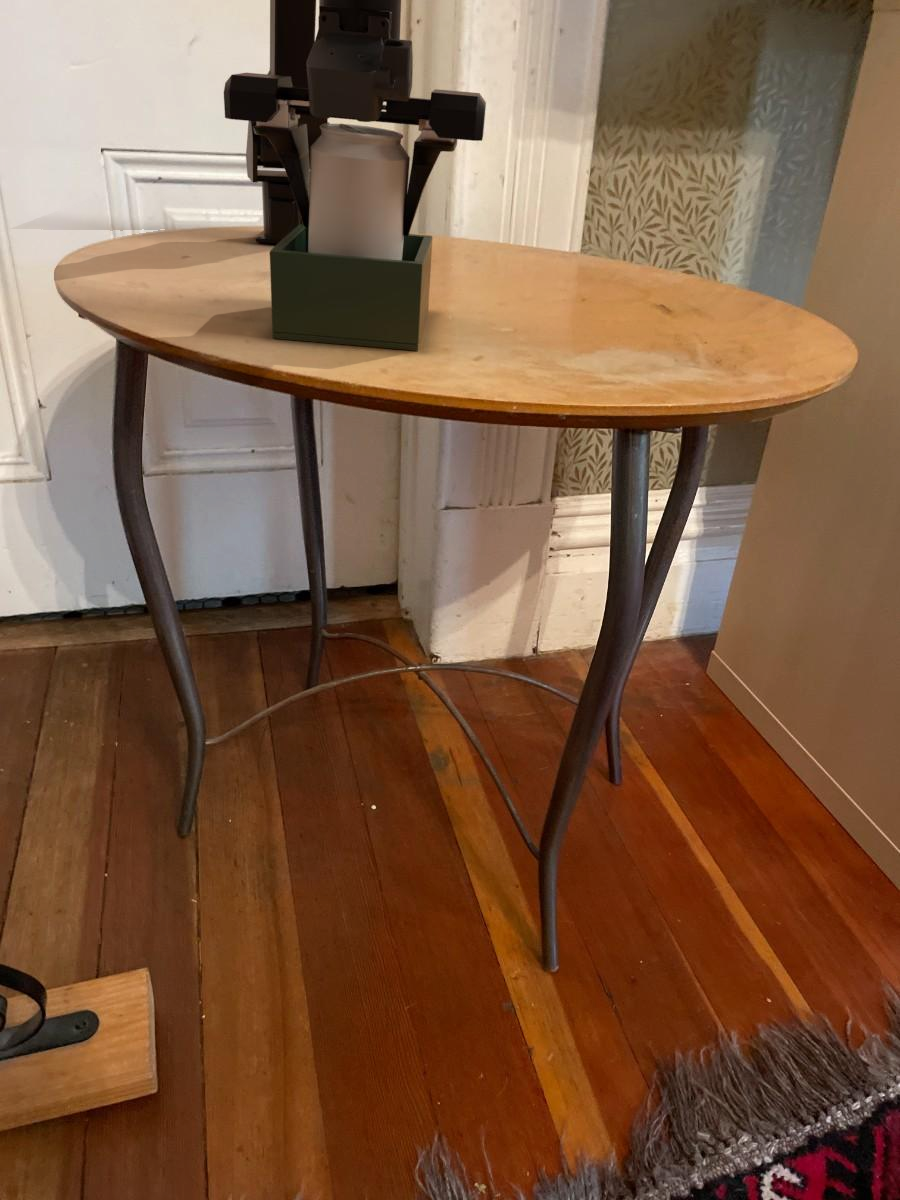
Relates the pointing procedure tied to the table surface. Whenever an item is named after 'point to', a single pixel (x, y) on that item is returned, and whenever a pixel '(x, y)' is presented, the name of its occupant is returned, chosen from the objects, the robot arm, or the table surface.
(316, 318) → the bin
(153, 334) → the table surface
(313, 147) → the can
